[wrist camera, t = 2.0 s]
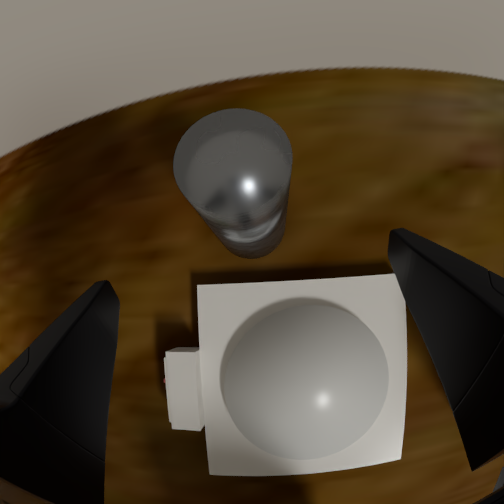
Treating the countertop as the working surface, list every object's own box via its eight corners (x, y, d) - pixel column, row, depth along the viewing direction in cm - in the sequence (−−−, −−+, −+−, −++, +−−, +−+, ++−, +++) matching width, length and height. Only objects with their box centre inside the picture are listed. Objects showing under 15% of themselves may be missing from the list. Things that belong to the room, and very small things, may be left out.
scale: (395, 452, 17) (406, 466, 15) (183, 464, 18) (173, 479, 16) (396, 274, 20) (410, 270, 17) (170, 287, 21) (157, 284, 18)
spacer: (240, 271, 21) (209, 238, 11) (206, 216, 21) (155, 147, 12) (297, 235, 21) (316, 172, 11) (261, 182, 22) (250, 91, 12)
